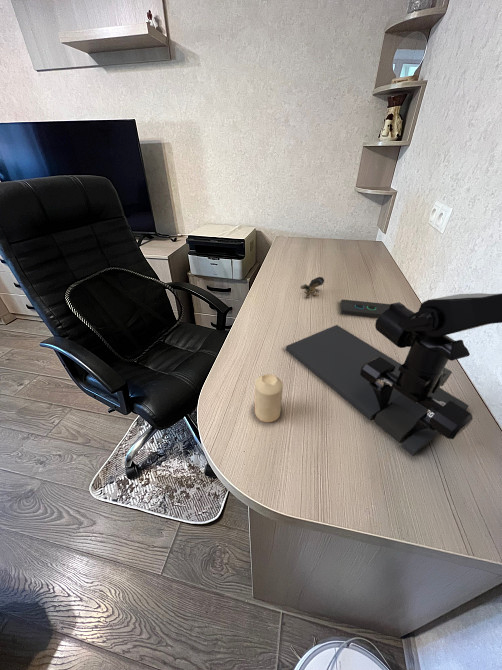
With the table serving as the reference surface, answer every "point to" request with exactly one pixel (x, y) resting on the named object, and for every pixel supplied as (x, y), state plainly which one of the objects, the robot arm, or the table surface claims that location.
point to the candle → (268, 397)
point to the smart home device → (363, 308)
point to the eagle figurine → (312, 286)
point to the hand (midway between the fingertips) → (396, 421)
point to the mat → (344, 376)
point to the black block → (396, 421)
